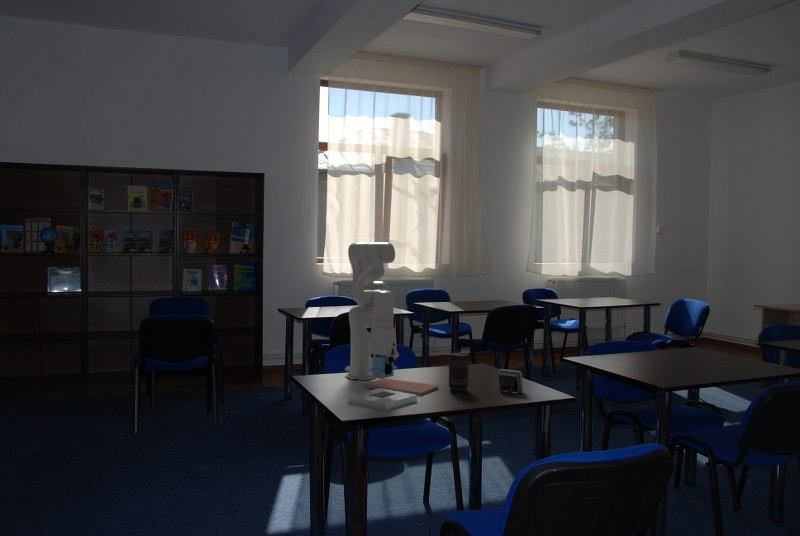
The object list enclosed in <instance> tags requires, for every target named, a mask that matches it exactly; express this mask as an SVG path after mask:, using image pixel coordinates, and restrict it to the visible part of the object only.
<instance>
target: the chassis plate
mask: <svg viewBox="0 0 800 536" xmlns="http://www.w3.org/2000/svg"><path fill="white" fill-rule="evenodd" d="M347 398H348V400H347V401H348V402H347V403H349V404H351V405H357V406H361V407H366V408H371V409H376V410H381V411H385V412H386V411H390V410H394V409H396V408H401V407H404V406H407V405H411V404H414V403H417V402H418V395H414V394H409V393H404V392H398V391H393V390H388V389H383V388H378V389H373V390H372V389H369V390H366V391H363V392H360V393H359V392H358V393H355V394H351V395H348V397H347Z"/></svg>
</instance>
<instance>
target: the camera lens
mask: <svg viewBox="0 0 800 536" xmlns="http://www.w3.org/2000/svg"><path fill="white" fill-rule="evenodd" d="M469 360H470V358H469V354H468V353H464V352H453V353H449V354H448V387H449V391H450V392H451V393H454V394H455V393H456V394H464V393H467V391H468V387H469V375H470V371H469V368H470V367H469V366H470V365H469V364H470V361H469Z"/></svg>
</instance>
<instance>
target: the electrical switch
mask: <svg viewBox="0 0 800 536" xmlns="http://www.w3.org/2000/svg"><path fill="white" fill-rule="evenodd" d="M498 385H499V392H501V391H509V392H512V391H513V392H517V393H519V394H521V393H520V392H522V393H523V392H524V384H523V373H522V371H521V370H514V369H513V370H512V369H503V368H500V369H499V370H498Z"/></svg>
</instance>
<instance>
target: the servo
mask: <svg viewBox="0 0 800 536" xmlns="http://www.w3.org/2000/svg"><path fill="white" fill-rule="evenodd" d="M389 359H390V358H389ZM385 364H387V363H386V357H385V356H375V357H372V368H371V369H369V371H371V372H372V377H374V379H382V378H386V379H388V378H392V377H394V375H395V374H394V371H395V370H397V369H398V367H397V366H396V365H395V364H394V362H393V363H392V374H388V375H386V374H385Z"/></svg>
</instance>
